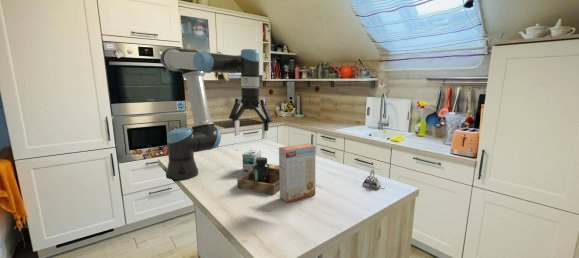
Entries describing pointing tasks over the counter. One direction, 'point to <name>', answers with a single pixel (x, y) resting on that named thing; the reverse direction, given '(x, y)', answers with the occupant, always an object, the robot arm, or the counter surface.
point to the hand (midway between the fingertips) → (250, 136)
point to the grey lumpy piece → (372, 181)
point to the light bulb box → (250, 160)
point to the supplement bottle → (262, 171)
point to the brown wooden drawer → (259, 184)
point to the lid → (272, 169)
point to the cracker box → (297, 172)
